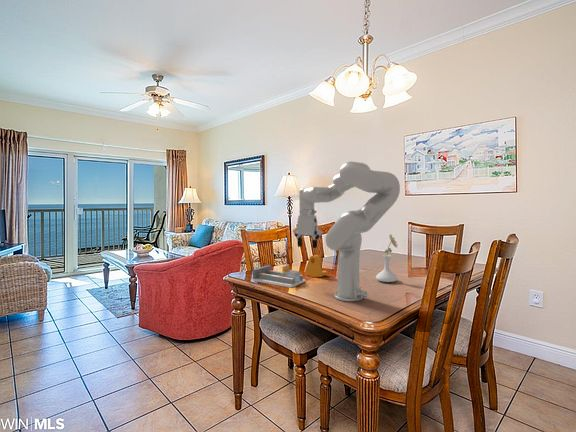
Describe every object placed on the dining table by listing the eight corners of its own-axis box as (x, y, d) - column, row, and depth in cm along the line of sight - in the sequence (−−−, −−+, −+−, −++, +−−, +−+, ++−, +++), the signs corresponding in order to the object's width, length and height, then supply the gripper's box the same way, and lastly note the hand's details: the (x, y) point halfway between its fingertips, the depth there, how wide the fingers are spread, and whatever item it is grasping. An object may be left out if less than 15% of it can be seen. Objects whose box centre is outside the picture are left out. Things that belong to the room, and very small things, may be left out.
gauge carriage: (303, 279, 167) (302, 265, 166) (291, 284, 158) (291, 269, 157) (290, 277, 171) (290, 264, 171) (278, 281, 162) (278, 267, 162)
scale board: (305, 281, 168) (305, 270, 167) (290, 287, 156) (290, 275, 156) (268, 275, 182) (268, 265, 182) (252, 280, 170) (252, 269, 170)
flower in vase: (390, 285, 159) (390, 236, 158) (371, 280, 168) (371, 234, 167) (403, 280, 167) (404, 234, 166) (385, 276, 176) (385, 232, 175)
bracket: (327, 275, 180) (327, 255, 180) (320, 278, 175) (320, 257, 174) (312, 273, 187) (312, 253, 187) (305, 275, 182) (305, 255, 181)
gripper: (325, 212, 155) (326, 247, 156) (296, 212, 165) (296, 245, 166) (318, 213, 149) (318, 249, 150) (288, 212, 159) (288, 246, 160)
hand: (307, 247), depth 158 cm, fingers open, 8 cm apart
